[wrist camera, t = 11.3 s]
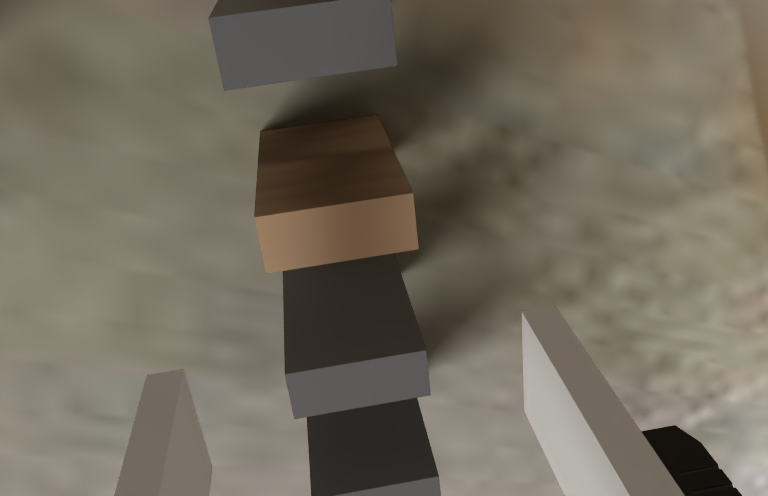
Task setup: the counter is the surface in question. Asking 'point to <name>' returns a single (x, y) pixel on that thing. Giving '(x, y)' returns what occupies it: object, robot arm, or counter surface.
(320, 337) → the domino
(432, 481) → the domino
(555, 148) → the counter surface
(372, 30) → the domino
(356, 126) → the walnut domino
